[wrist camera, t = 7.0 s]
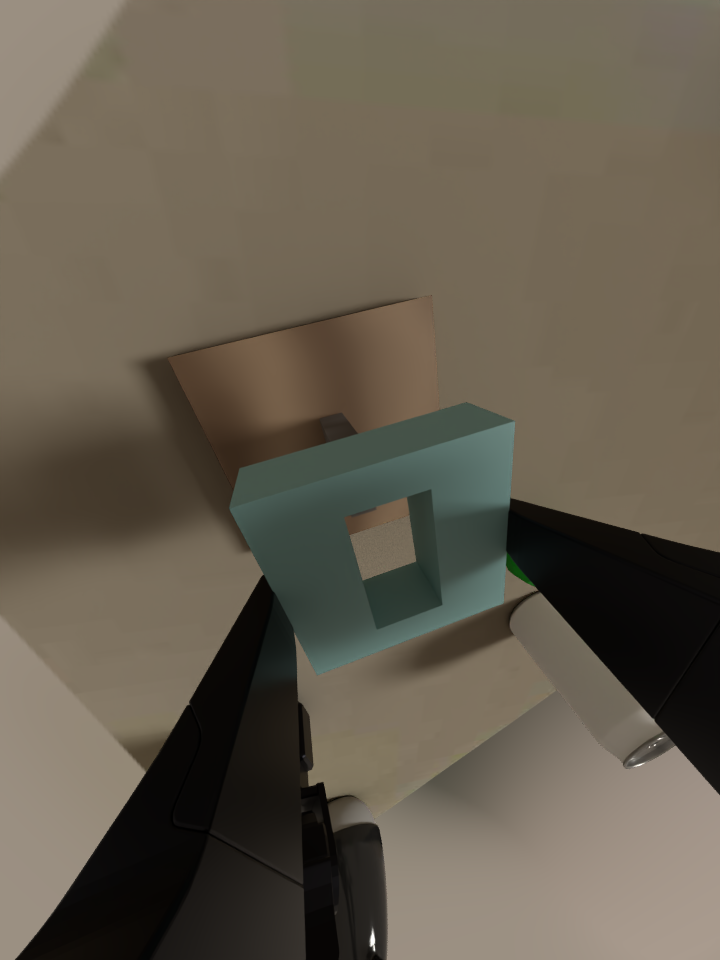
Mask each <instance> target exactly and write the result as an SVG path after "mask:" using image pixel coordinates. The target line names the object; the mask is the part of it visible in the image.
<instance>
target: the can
mask: <svg viewBox="0 0 720 960" xmlns="http://www.w3.org/2000/svg"><path fill="white" fill-rule="evenodd" d="M510 629H511V631H512V632H513V634H514V635H515V636H516V638H517V639H518V640H519V642H520V643H521V644H522V646H523V647H524V648H525V649H526V651H527V652H528V653H529V655H530V656H531V657H532V659H533V660H534V661H535V662H536V664H537V665H538V666H539V668H540V669H541V670H542V671H543V673H544V674H545V675H546V677H547V678H548V679H549V681H550V682H551V683H552V684H553V686H554V687H555V688H556V690H557V691H558V692H559V693H560V695H561V696H562V697H563V699H564V700H565V701H566V702H567V704H568V705H569V706H570V707H571V709H572V710H573V711H574V713H575V714H576V715H577V716H578V718H579V719H580V720H581V722H582V723H583V724H584V725H585V727H586V728H587V729H588V731H589V732H590V733H591V734H592V736H593V737H594V738H595V739H596V740H597V742H598V743H599V744H600V745H601V746H602V747H603V748H605V749H606V750H607V751H609V752H610V753H612V754H613V755H614V756H616V757H617V758H618V759H620V761H621V762H622V763H623V766H624V767H625V768H626V769H630V768H635V767H638V766H640V765H643V764H645V763H647V762H649V761H651V760H653V759H655V758H656V757H658V756H660V755H662V754H663V753H665V752H666V751H668V750H670V749H671V748H672V747H674V746H675V744H674V743H673V742H672V741H671V740H670V738H669V737H668V736H667V735H666V734H665V733H664V732H663V731H662V729H661V728H660V727H659V726H658V725H657V724H656V723H655V721H654V719H652V718H651V717H650V715H649V714H648V713H647V712H646V711H645V710H644V709H643V708H642V706H641V705H640V704H639V703H638V702H637V701H636V700H635V699H634V697H633V696H632V695H631V694H630V693H629V692H628V691H627V690H626V688H625V687H624V686H623V685H622V684H621V683H620V682H619V681H618V679H617V678H616V677H615V676H614V675H613V674H612V673H611V672H610V670H609V669H608V668H607V667H606V666H605V665H604V664H603V662H602V661H601V660H600V659H599V658H598V657H597V656H596V655H595V653H594V652H593V651H592V650H591V649H590V648H589V647H588V646H587V644H586V643H585V642H584V641H583V640H582V639H581V638H580V637H579V635H578V634H577V633H576V632H575V631H574V630H573V629H572V628H571V626H570V625H569V624H568V623H567V622H566V621H565V620H564V619H563V617H562V616H561V615H560V614H559V613H558V612H557V611H556V609H555V608H554V607H553V606H552V605H551V604H550V603H549V602H548V600H547V599H546V598H545V597H544V596H543V595H542V594H541V593H540V592H537V593H534V594H532V595H530V596H529V597H527V598H526V599H524V600H523V601H522V602H520V603H519V604H518V605H517V606H516V608H515V609H514V610H513V612H512V614H511V616H510Z"/></svg>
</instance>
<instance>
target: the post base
mask: <svg viewBox="0 0 720 960" xmlns="http://www.w3.org/2000/svg"><path fill="white" fill-rule="evenodd" d="M168 360H169V362H170V364H171V366H172V368H173V370H174V372H175V374H176V376H177V378H178V380H179V382H180V384H181V386H182V388H183V390H184V392H185V394H186V396H187V398H188V400H189V402H190V404H191V406H192V408H193V410H194V412H195V414H196V416H197V418H198V420H199V422H200V425H201V427H202V429H203V431H204V433H205V435H206V437H207V439H208V441H209V443H210V445H211V447H212V449H213V451H214V453H215V455H216V457H217V459H218V461H219V463H220V465H221V467H222V469H223V471H224V473H225V475H226V477H227V479H228V481H229V483H230V485H231V487H232V489H233V491H234V488H235V484H236V480H237V476H238V472H239V469H240V468H242V467H246V466H249V465H253V464H256V463H260V462H263V461H266V460H270V459H273V458H277V457H280V456H284V455H287V454H291V453H294V452H297V451H301V450H304V449H308V448H311V447H315V446H318V445H321V444H325V443H328V442H332V441H335V440H339V439H342V438H346V437H349V436H352V435H356V434H359V433H363V432H366V431H370V430H373V429H376V428H380V427H383V426H387V425H390V424H394V423H397V422H401V421H404V420H407V419H411V418H414V417H418V416H421V415H425V414H428V413H431V412H435V411H438V410H440V408H439V393H438V378H437V363H436V348H435V333H434V318H433V303H432V295H430V296H426V297H421V298H416V299H412V300H408V301H404V302H400V303H395V304H391V305H387V306H383V307H378V308H374V309H370V310H366V311H361V312H357V313H353V314H349V315H345V316H340V317H336V318H332V319H328V320H323V321H319V322H315V323H311V324H307V325H302V326H298V327H294V328H290V329H285V330H281V331H277V332H273V333H269V334H264V335H260V336H256V337H252V338H247V339H243V340H239V341H235V342H231V343H226V344H222V345H218V346H214V347H209V348H205V349H201V350H197V351H193V352H188V353H184V354H180V355H176V356H172V357H169V358H168ZM408 515H409V508H408V502H407V497H405V498H402V499H399V500H396V501H393V502H390V503H387V504H383V505H380V506H377V507H374V508H371V509H368V510H365V511H362V512H359V513H356V514H353V515H350V516H347V517H344V519H345V522H346V526H347V529H348V533H349V535H351V534H354V533H357V532H360V531H363V530H366V529H369V528H372V527H375V526H378V525H381V524H384V523H387V522H390V521H393V520H396V519H399V518H402V517H405V516H408Z"/></svg>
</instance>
